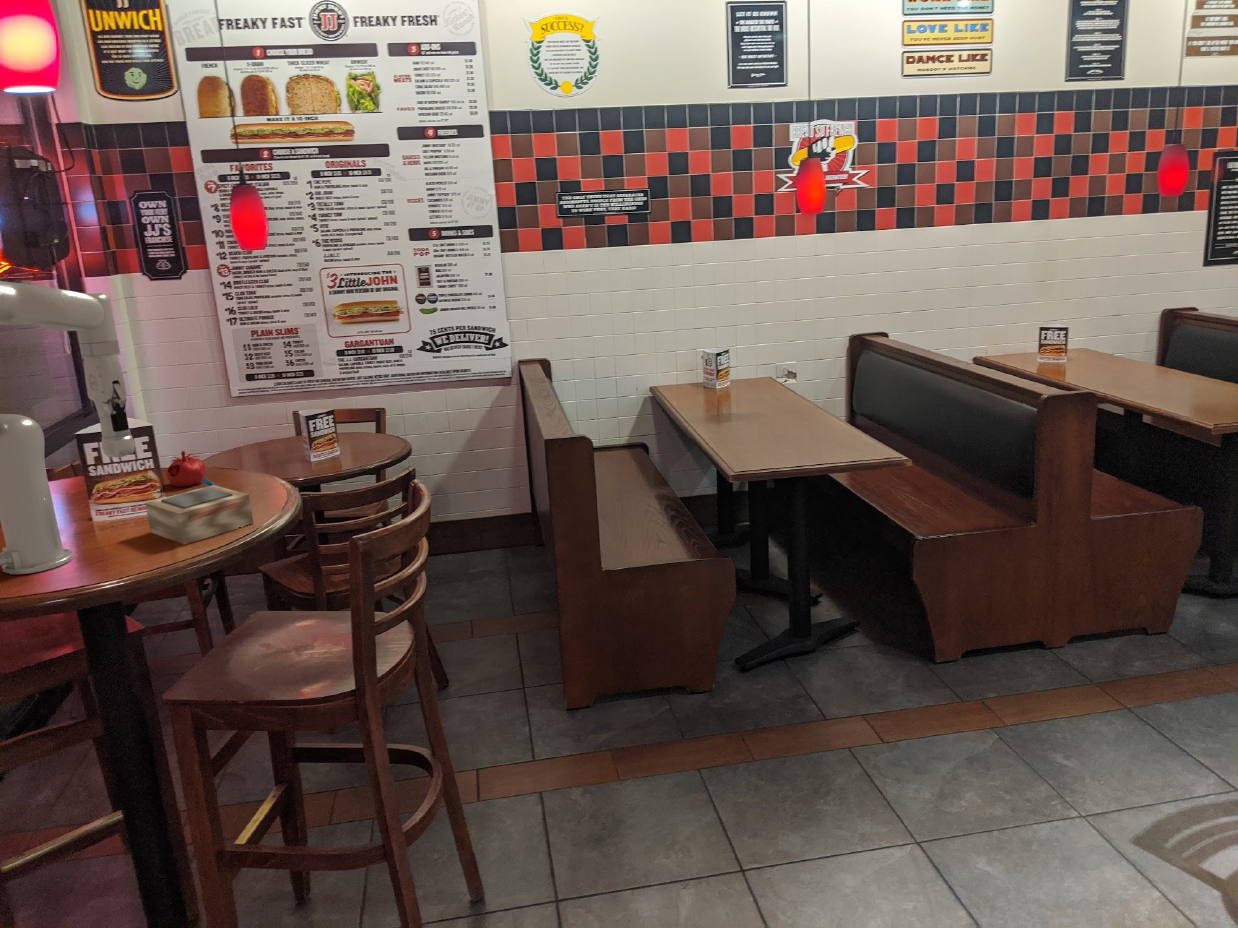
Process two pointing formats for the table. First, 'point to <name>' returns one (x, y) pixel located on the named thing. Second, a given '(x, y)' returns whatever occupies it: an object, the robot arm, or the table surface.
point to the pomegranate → (186, 471)
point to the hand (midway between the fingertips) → (115, 428)
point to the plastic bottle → (112, 441)
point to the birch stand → (199, 514)
